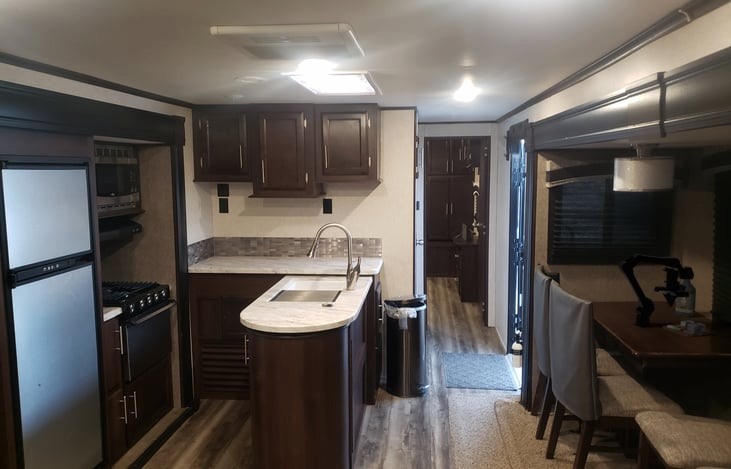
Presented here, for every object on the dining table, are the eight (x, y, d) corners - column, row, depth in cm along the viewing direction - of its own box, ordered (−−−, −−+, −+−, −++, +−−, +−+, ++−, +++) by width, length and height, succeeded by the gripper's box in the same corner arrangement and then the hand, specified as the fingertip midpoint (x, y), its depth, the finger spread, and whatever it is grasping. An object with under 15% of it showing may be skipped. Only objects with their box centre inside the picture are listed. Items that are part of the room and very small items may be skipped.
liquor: (678, 312, 329) (681, 265, 326) (695, 315, 322) (698, 266, 319) (674, 315, 322) (676, 266, 319) (691, 318, 316) (694, 268, 313)
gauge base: (687, 337, 278) (688, 326, 278) (662, 328, 294) (663, 319, 293) (708, 334, 282) (708, 324, 282) (682, 326, 298) (682, 317, 297)
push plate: (680, 330, 284) (680, 323, 284) (675, 328, 287) (675, 321, 287) (693, 328, 287) (694, 321, 287) (689, 327, 290) (689, 320, 290)
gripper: (697, 281, 290) (696, 309, 291) (669, 275, 307) (668, 302, 309) (681, 282, 286) (680, 310, 288) (653, 276, 304) (652, 303, 306)
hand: (670, 306), depth 298 cm, fingers closed
